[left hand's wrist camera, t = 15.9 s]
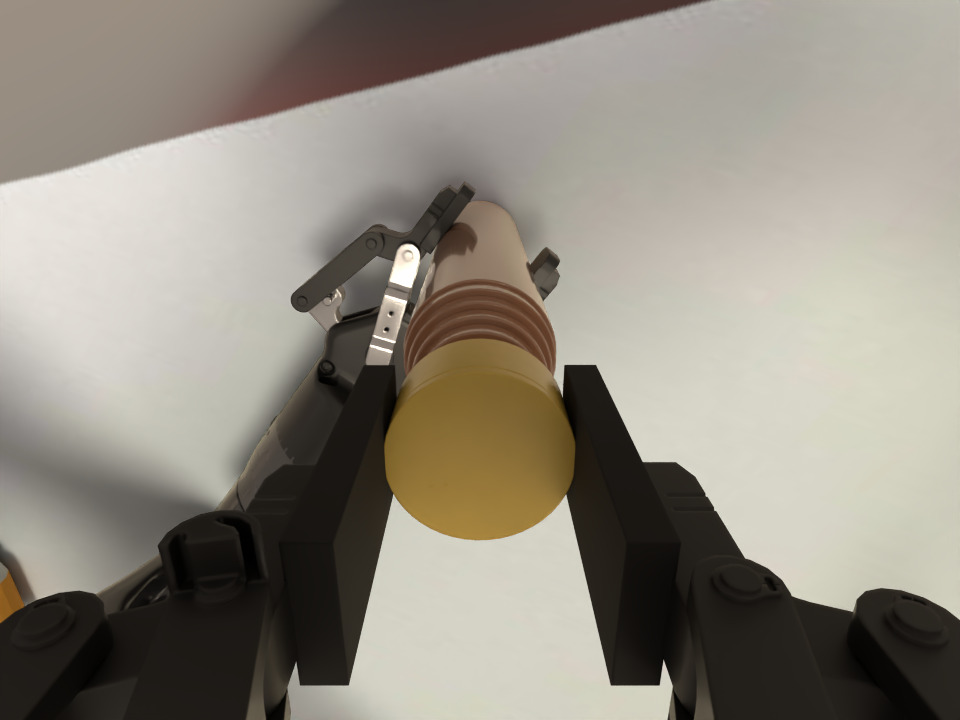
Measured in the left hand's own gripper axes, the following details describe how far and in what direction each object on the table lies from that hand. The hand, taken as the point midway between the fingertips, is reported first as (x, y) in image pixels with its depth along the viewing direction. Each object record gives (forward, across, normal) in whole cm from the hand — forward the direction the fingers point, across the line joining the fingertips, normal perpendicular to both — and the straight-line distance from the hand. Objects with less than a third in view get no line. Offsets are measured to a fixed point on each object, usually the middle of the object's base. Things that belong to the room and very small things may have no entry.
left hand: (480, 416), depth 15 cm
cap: (-2, 0, 0) cm, 2 cm away
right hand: (+18, -2, -2) cm, 18 cm away
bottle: (+24, 0, 0) cm, 24 cm away
